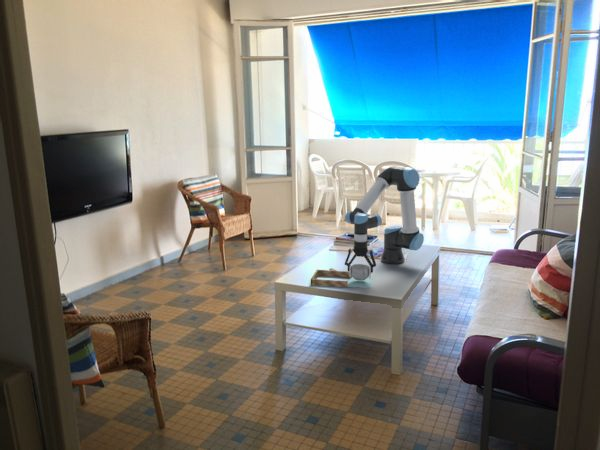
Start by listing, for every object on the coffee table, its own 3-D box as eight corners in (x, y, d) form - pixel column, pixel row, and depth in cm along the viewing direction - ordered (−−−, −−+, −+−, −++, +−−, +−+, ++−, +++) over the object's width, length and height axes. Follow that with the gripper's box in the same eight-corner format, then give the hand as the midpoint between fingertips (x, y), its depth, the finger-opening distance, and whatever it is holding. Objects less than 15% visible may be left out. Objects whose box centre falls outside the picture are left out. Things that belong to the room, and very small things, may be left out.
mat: (372, 279, 314) (372, 278, 314) (369, 288, 299) (369, 287, 299) (350, 277, 317) (350, 277, 317) (347, 286, 302) (347, 286, 302)
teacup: (349, 276, 314) (349, 263, 312) (367, 275, 315) (367, 262, 313) (354, 284, 300) (354, 270, 298) (372, 283, 301) (373, 270, 299)
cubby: (351, 277, 318) (351, 271, 317) (347, 287, 300) (347, 281, 299) (316, 275, 323) (316, 269, 322) (310, 285, 305) (310, 279, 304)
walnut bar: (341, 275, 322) (341, 273, 322) (339, 276, 321) (339, 273, 321) (332, 270, 332) (332, 268, 332) (329, 271, 332) (329, 268, 331)
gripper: (381, 239, 303) (380, 276, 308) (341, 238, 308) (341, 274, 313) (380, 243, 296) (379, 280, 301) (339, 241, 301) (339, 277, 306)
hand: (360, 277), depth 307 cm, fingers closed on teacup, 11 cm apart
